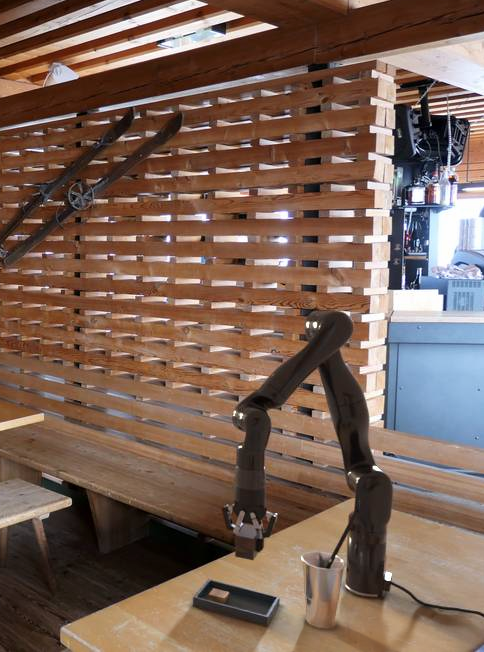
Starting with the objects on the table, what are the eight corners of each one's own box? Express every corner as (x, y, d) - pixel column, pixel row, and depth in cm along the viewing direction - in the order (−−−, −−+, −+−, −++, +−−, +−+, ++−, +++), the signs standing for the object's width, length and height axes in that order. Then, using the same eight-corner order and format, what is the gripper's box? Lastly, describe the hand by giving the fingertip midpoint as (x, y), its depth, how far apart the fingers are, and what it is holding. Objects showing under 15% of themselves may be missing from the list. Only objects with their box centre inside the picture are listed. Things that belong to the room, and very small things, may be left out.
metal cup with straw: (354, 637, 171) (359, 510, 168) (302, 631, 173) (307, 506, 171) (343, 614, 181) (348, 495, 179) (294, 609, 183) (299, 491, 181)
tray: (279, 605, 185) (279, 596, 185) (267, 626, 175) (267, 617, 175) (208, 587, 195) (208, 578, 195) (192, 606, 185) (193, 597, 185)
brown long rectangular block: (261, 547, 191) (262, 527, 191) (253, 560, 184) (253, 538, 183) (244, 544, 194) (244, 523, 193) (235, 556, 186) (235, 535, 185)
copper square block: (228, 598, 188) (229, 592, 188) (224, 604, 185) (224, 598, 185) (213, 594, 190) (213, 588, 190) (208, 600, 187) (208, 594, 187)
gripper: (282, 484, 187) (280, 549, 188) (225, 475, 194) (224, 538, 195) (275, 492, 180) (274, 560, 182) (217, 483, 188) (216, 548, 189)
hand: (248, 548), depth 189 cm, fingers closed on brown long rectangular block, 4 cm apart
